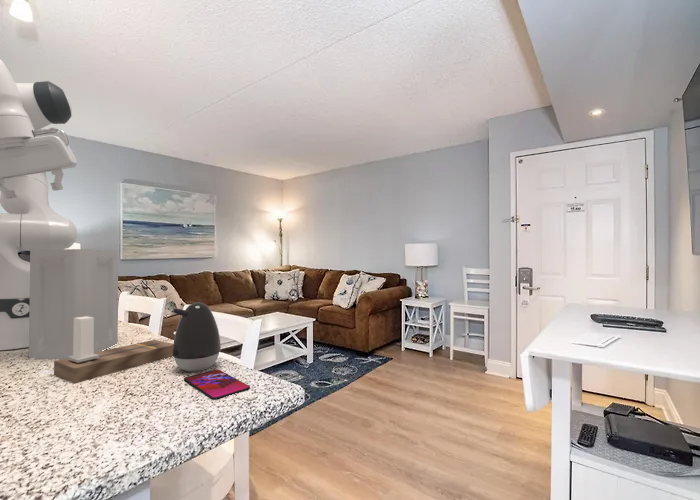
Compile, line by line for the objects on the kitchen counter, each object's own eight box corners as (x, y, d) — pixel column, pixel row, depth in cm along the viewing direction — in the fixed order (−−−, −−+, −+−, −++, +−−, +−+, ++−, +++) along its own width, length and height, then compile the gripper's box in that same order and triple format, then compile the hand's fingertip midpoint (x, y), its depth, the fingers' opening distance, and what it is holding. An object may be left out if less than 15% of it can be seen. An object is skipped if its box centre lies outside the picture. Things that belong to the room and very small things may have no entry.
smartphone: (213, 398, 60) (182, 377, 71) (212, 403, 60) (182, 381, 71) (252, 386, 66) (218, 368, 76) (252, 391, 66) (218, 372, 76)
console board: (74, 383, 69) (74, 368, 69) (53, 374, 74) (54, 361, 74) (176, 355, 88) (176, 344, 88) (154, 350, 93) (154, 339, 93)
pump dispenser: (164, 368, 78) (164, 302, 78) (209, 358, 86) (209, 298, 86) (181, 379, 71) (182, 307, 71) (228, 367, 79) (228, 302, 79)
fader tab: (77, 362, 72) (78, 320, 72) (67, 359, 74) (67, 318, 75) (99, 357, 75) (99, 317, 76) (88, 354, 78) (89, 315, 78)
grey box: (29, 367, 79) (30, 248, 80) (28, 355, 90) (30, 250, 91) (125, 351, 93) (126, 249, 93) (115, 342, 103) (115, 250, 104)
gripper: (69, 128, 82) (90, 185, 86) (-35, 142, 77) (-8, 202, 80) (56, 124, 76) (79, 185, 80) (-57, 138, 71) (-27, 203, 74)
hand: (35, 194), depth 80 cm, fingers open, 8 cm apart
